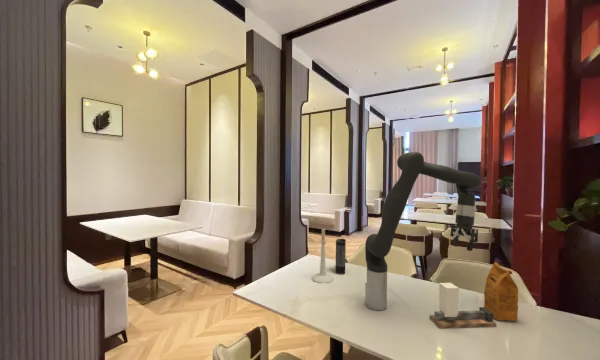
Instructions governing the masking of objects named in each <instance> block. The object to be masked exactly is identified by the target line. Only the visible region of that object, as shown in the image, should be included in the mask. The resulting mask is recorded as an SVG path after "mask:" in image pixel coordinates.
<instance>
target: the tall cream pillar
mask: <svg viewBox="0 0 600 360" xmlns="http://www.w3.org/2000/svg"><path fill="white" fill-rule="evenodd" d="M438 283H439V286H438V287H439V288H438V291H439V292H438V310H439V311H442V312H443V313H444V317H457V315H458V311H459V296H460V295H459V293H460V291H459V289H460V288H459V287H458V286H456V285H455V284H453V283H452V282H438Z"/></svg>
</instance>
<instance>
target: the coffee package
mask: <svg viewBox="0 0 600 360" xmlns="http://www.w3.org/2000/svg"><path fill="white" fill-rule="evenodd" d="M491 266H492V267H490V271H489V272H488V274H487V277H486V281H485V287H484V291H483V296H484V297H483V298H484V299H483V300H484V302H483V303H484V304H483V305H484V306H483V307H484V308H486V309H487V310H489V311H490V312H492V313H493V319H494V320H496V321H510V322H515V321H516V322H517V321H518V311H519V305H518V304H519V287H518V286H517V284H516V282H515V281H514V279H513V278H512V276H511V275H513V271H512V270H510V269H506V268H504V267H500V264H499V263H498V262H496V261H495V262H494V263H493V265H491Z"/></svg>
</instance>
